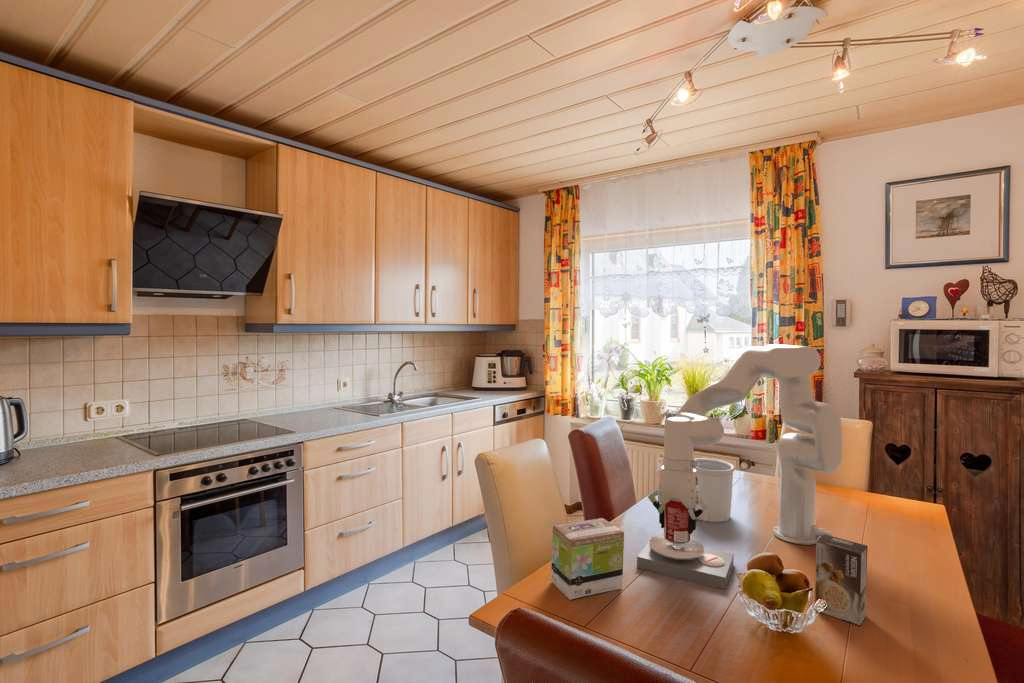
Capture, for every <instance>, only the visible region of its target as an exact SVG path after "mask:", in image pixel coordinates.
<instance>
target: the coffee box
mask: <svg viewBox="0 0 1024 683" xmlns="http://www.w3.org/2000/svg"><path fill="white" fill-rule="evenodd" d="M815 545H816V546H815V585H814V588H815V590H814V592H815V593H814V603H815V602H816V601H817V600H818V599H823V600H825V601H826V603H827V607H826V608H825V609H824V611H823V612H821V613H822V614H825V615H828V616H830V617H832V618H836V619H839V620H842V619H843V621H844V620H846V621H845V622H847V621H850V622H853V623H855V624H858V625H860V624H861V623H862V624H863V622H864V621H863V620H865V619H866V617H867V574H868V573H867V571H868V545H866V544H864V543H863V544H862V543H858V542H855V541H851V540H848V539H844V538H839V537H836V536H833V535H832V536H829V535H825V534H824V535H822V536H820V538H819V540H818V541H817V542H816V544H815ZM865 616H866V617H865ZM864 618H865V619H864ZM862 621H863V622H862ZM850 622H849V623H850ZM853 623H852V624H853ZM855 624H854V625H855ZM862 624H861V625H862ZM858 625H857V626H858Z"/></svg>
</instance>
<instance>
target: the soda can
mask: <svg viewBox="0 0 1024 683" xmlns="http://www.w3.org/2000/svg"><path fill="white" fill-rule="evenodd" d="M689 518H690V514H689V512H688V509H687V508H686V507H685V505H684V504H682V500H674V499H670V501H669V502H667V503H666V504H665V508H664V528H663V534H664V538H665V539H666V540H667V541H669V542H670V543H673V544H685V543H688V542H689V541H690V538H691V534H689Z"/></svg>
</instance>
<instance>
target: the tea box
mask: <svg viewBox="0 0 1024 683" xmlns="http://www.w3.org/2000/svg"><path fill="white" fill-rule="evenodd" d="M551 539H552V540H551V541H552V544H551V569H550V570H551V571H550V575H551V576H550V582H551V583H552V584H553V585H554V586H555V587H556V588H557V589H558V590H559V591H560V592H561V593H562V594H563V595H564V596H565V597H566V598H568V600H569V601H571V600H575V599H578V598H583V597H589V596H592V595H596V594H602V593H606V592H612V591H617V590H622V588H623V577H624V576H623V575H624V547H625V531H623V530H622V529H620V528H619V527H617V526H616V525H614V524H613V523H611V522H610V521H608V520H607V519H605V518H603V517H599V518H595V519H594V518H593V519H589V520H588V519H586V520H580V521H575V522H568V523H561V524H555V525H552V538H551Z"/></svg>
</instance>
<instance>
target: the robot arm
mask: <svg viewBox="0 0 1024 683" xmlns="http://www.w3.org/2000/svg"><path fill="white" fill-rule="evenodd" d="M821 361H822V360H821V355H820V353H819V352H818V351H817V349H815V348H814V347H811V346H806V345H797V344H795V345H793V344H782V343H779V344H778V343H772V344H766V345H764V346H760V345H759V346H758V345H751V346H746V347H744V348H743V349H741V350H740V352H738V354H736V356H735V358H734V359H733V360H732V362H731V363H730V364H729V366H728V367H727V369H726V370H725V371H724V372H723V373H722V375H721V376H720V377H719V378H718V379H717V380H716V381H715V382H714V383H712V384H710V385H708V386H706V387H705V388H703V389H701V390H699V391H698V392H696V393H694V394H692V395H691V396H690V397H689V398H688V399H687V400H686V401H685V403H684V404H683V405H682V406H681V408H680V409H679V410H678V411H677V413H676V415H675V416H670V417H668V418H666V419H665V421H664V427H663V428H664V429H663V430H664V431H663V432H664V433H663V435H664V436H663V437H664V438H663V440H664V441H663V465H662V466H661V468H660V472H659V479H658V484H657V485H658V488H657V489H655V490H654V491H653V492H651V493H650V494H648V496H647V499H649V501H650V502H651V503H652V506H653V507H654V508H655V509H656V510H657V513H658V514H659V516H658V517H659V518H658V519H659V520H658V521H659V522H658V523H659V524H660V528H661V529H664V508H665V504H666V503H667V502H669V501H670V499H674V500H682V504H684V505H685V507H686V508H687V509H688V512H689V514H690V518H689V534H690V535H692V534H693V532H694V531H696V528H697V519H696V518H697V517H698V516H700V515H701V514H702V513H703V512H704V511H706V510H707V509H708V508H709V505H708V503H707V502H706V501H705V500H704V499H703V498H702V497H701V496H700V495H699V488H698V477H697V471H696V469H693V468H694V467H699V462H696V461H695V460H694V458H695V457H694V446H695V445H701V446H712V445H715V444H718V443H719V442H720V441H721V440H722V439H723V438H724V435H725V429H724V425H723V424H722V423H721V422H720V421H719V420H718V419H716V418H714V417H712V416H707V415H706V414H707V413H709V412H711V411H713V410H715V409H717V408H721V407H726V406H731V405H735V404H737V403H740V402H743V401H744V400H745V399H746V398H747V397H748V395H749V394H750V392H751V391H752V390H753V388H754V387H755V385H756V384H757V383H759V380H760V379H761V378H767V379H768V378H769V379H776V380H777V382H778V386H779V392H780V393H779V394H780V395H779V396H780V413H781V415H780V416H781V420H782V423H783V425H784V426H785V427H787V428H788V429H792V430H794V431H799V432H803V433H807V434H803V433H799V432H788V433H785V434H782V436H780V438H779V439H778V441H777V447H776V449H777V456H778V460H779V472H780V474H779V475H780V476H779V479H780V480H779V503H778V504H779V505H778V506H779V507H778V525H775V526H774V527H773V528H772V534H773V535H774V536H775V537H776V538H778V539H780V540H782V541H785V542H788V543H791V544H794V545H795V544H797V545H804V546H805V545H806V546H807V545H808V546H811V545H816V542H817V541H818V540H819V538H820V537H821V536H822V535H824V534H825V535H829V536H833V532H832V531H829V530H828V529H827V528H824V527H823V528H822V527H819V526H816V521H815V516H816V515H815V514H816V490H817V488H816V487H817V485H816V484H817V483H816V482H817V481H816V477H815V475H814V472H813V471H815V472H820V473H823V474H833V473H836V472H837V471H838V470H839V468H840V467H841V465H842V461H843V433H842V432H843V430H842V419H841V415H840V413H839V411H838V410H837V408H836V407H835V406H834V405H832V404H830V403H828V402H822V401H821V402H820V401H816V400H815V399H814V396H813V387H812V385H813V384H812V382H811V378H810V376H813V375H814V374H815V373H816V372H818V371H819V369H820V368H821V367H820V366H821ZM808 434H812V435H808ZM656 496H657V498H656ZM698 503H699V504H700V505H701V506H702V507H701V508H699V509H698V510H696V509H695V507H696V504H698Z"/></svg>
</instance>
